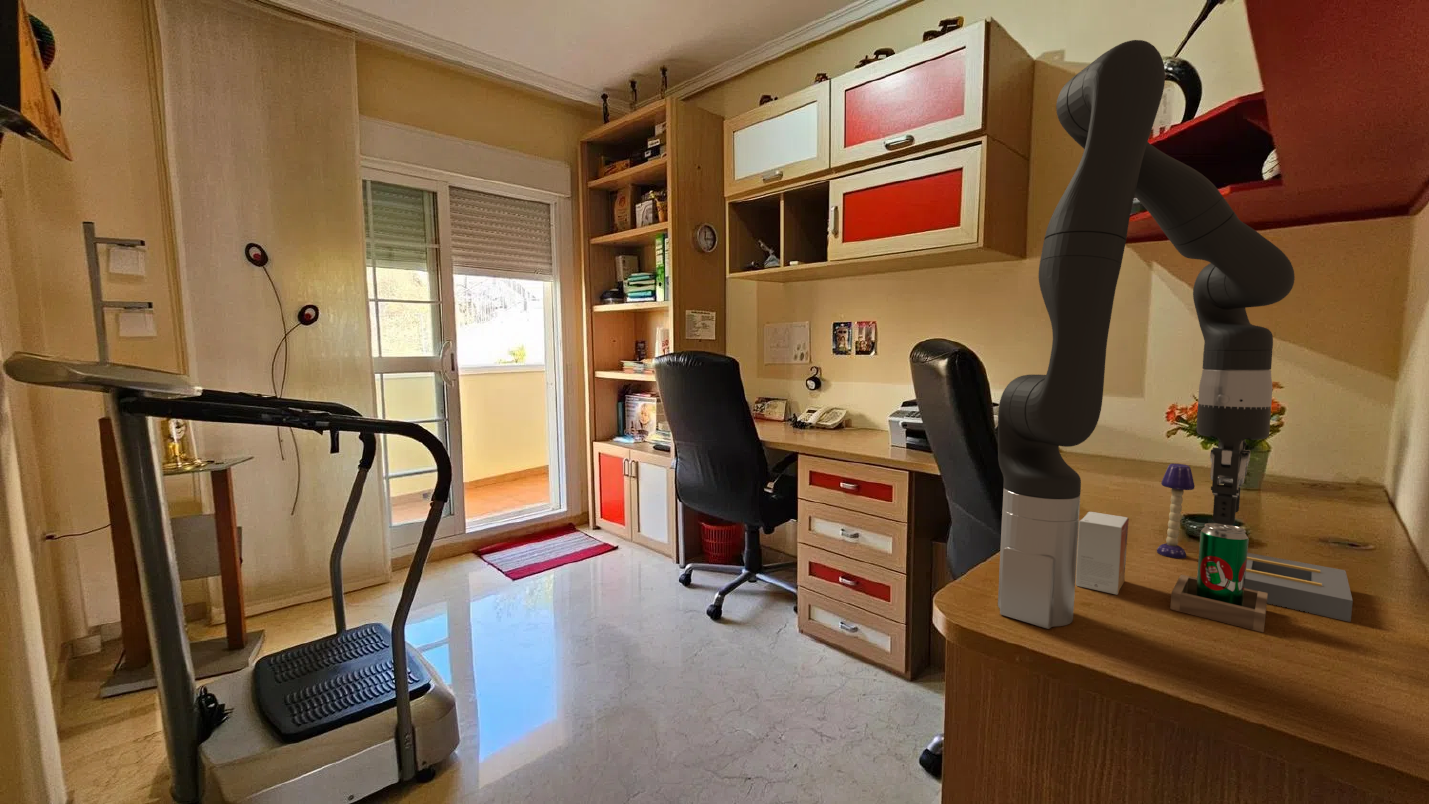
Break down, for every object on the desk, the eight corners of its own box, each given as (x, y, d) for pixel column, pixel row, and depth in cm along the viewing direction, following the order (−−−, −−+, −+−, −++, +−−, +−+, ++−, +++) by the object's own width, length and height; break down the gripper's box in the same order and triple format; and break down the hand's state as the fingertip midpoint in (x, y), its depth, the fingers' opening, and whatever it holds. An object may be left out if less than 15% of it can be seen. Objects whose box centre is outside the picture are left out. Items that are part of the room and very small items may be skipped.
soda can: (1223, 603, 84) (1229, 522, 83) (1252, 618, 79) (1259, 533, 78) (1186, 601, 84) (1192, 521, 83) (1212, 616, 79) (1219, 531, 78)
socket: (1350, 622, 78) (1352, 598, 77) (1214, 591, 88) (1216, 570, 87) (1343, 589, 89) (1345, 568, 89) (1223, 565, 99) (1225, 546, 99)
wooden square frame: (1263, 632, 75) (1265, 614, 74) (1170, 609, 81) (1171, 592, 81) (1266, 610, 81) (1267, 592, 81) (1179, 590, 88) (1180, 574, 88)
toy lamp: (1195, 558, 102) (1202, 466, 101) (1177, 561, 101) (1184, 467, 99) (1166, 549, 107) (1173, 461, 105) (1149, 552, 105) (1155, 462, 104)
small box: (1117, 596, 86) (1122, 527, 85) (1074, 586, 89) (1078, 520, 89) (1125, 581, 92) (1129, 516, 91) (1084, 572, 95) (1088, 510, 95)
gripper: (1269, 407, 71) (1260, 534, 73) (1272, 400, 81) (1264, 512, 83) (1192, 404, 77) (1185, 522, 78) (1203, 398, 87) (1197, 503, 88)
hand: (1226, 517), depth 80 cm, fingers open, 8 cm apart
